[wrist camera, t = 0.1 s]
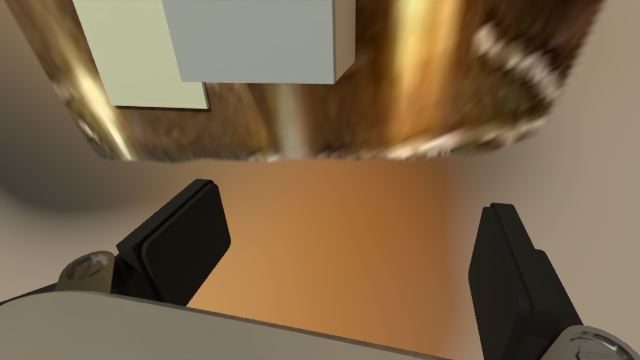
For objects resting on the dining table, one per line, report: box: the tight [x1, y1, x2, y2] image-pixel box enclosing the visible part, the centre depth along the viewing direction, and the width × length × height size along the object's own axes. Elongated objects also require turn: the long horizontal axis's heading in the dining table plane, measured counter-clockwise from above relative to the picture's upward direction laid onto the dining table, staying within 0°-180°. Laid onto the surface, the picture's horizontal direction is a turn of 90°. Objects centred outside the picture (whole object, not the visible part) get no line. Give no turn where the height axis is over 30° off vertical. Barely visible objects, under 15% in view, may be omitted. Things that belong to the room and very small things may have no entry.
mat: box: [73, 0, 209, 109], centre depth 43 cm, size 21×17×1 cm
